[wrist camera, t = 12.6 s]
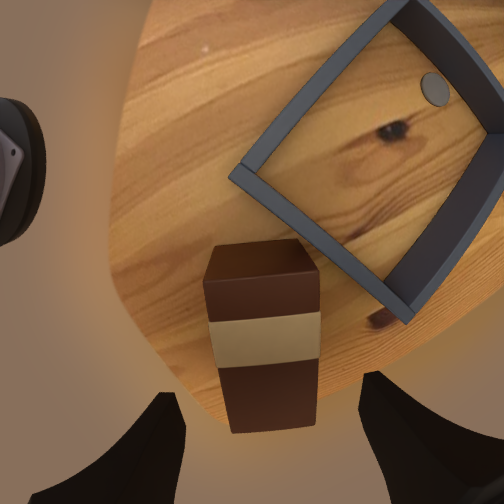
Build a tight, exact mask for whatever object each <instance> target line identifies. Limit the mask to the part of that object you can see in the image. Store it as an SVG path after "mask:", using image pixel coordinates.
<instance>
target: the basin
mask: <svg viewBox="0 0 504 504" xmlns="http://www.w3.org/2000/svg"><path fill="white" fill-rule="evenodd" d="M389 21H391V22H392V23H393V24H394V25H395V26H396V27H398V28H399V29H400V30H401V31H402V32H403V33H404V34H405V35H406V36H407V37H408V38H409V39H410V40H411V41H412V42H414V43H415V44H416V45H417V46H418V47H419V48H420V49H421V50H422V52H423V53H424V54H425V55H426V56H427V57H428V58H429V59H430V60H431V61H432V62H433V63H434V64H435V65H436V66H437V68H438V69H439V70H440V71H441V72H442V73H443V74H444V75H445V77H446V78H447V79H448V80H449V81H450V83H451V84H452V85H453V86H454V87H455V89H456V90H457V91H458V92H459V94H460V95H461V96H462V97H463V99H464V100H465V101H466V103H467V104H468V105H469V107H470V108H471V109H472V111H473V112H474V113H475V115H476V116H477V118H478V119H479V121H480V122H481V123H482V125H483V126H484V128H485V129H486V131H487V132H488V134H487V136H486V138H485V140H484V141H483V143H482V145H481V146H480V148H479V150H478V151H477V153H476V155H475V156H474V158H473V160H472V161H471V163H470V165H469V166H468V168H467V169H466V171H465V173H464V174H463V176H462V177H461V179H460V180H459V182H458V183H457V185H456V186H455V188H454V189H453V191H452V192H451V194H450V195H449V197H448V198H447V200H446V201H445V203H444V204H443V205H442V207H441V208H440V210H439V211H438V213H437V214H436V215H435V217H434V218H433V219H432V221H431V222H430V224H429V225H428V226H427V228H426V229H425V230H424V232H423V233H422V234H421V236H420V237H419V238H418V240H417V241H416V242H415V243H414V245H413V246H412V247H411V249H410V250H409V251H408V252H407V254H406V255H405V256H404V257H403V259H402V260H401V261H400V262H399V264H398V265H397V266H396V267H395V268H394V270H393V271H392V272H391V273H390V274H389V276H388V277H387V278H386V279H385V280H384V282H382V281H381V280H380V279H379V278H378V277H377V276H375V275H374V274H373V273H372V272H371V271H370V270H369V269H368V268H367V267H366V266H364V265H363V264H362V263H361V262H360V261H359V260H358V259H357V258H356V257H354V256H353V255H352V254H351V253H350V252H349V251H348V250H347V249H345V248H344V247H343V246H342V245H341V244H340V243H338V242H337V241H336V240H335V239H334V238H333V237H332V236H330V235H329V234H328V233H327V232H326V231H325V230H323V229H322V228H321V227H320V226H319V225H318V224H316V223H315V222H314V221H313V220H312V219H310V218H309V217H308V216H307V215H306V214H304V213H303V212H302V211H301V210H300V209H298V208H297V207H296V206H295V205H293V204H292V203H291V202H290V201H289V200H287V199H286V198H285V197H284V196H282V195H281V194H280V193H279V192H277V191H276V190H275V189H274V188H272V187H271V186H270V185H269V184H267V183H266V182H265V181H264V180H262V179H261V178H260V177H258V176H257V175H256V174H255V173H257V171H258V170H259V169H260V168H261V166H262V165H263V164H264V163H265V162H266V160H267V159H268V158H269V157H270V155H271V154H272V153H273V152H274V151H275V149H276V148H277V147H278V146H279V145H280V143H281V142H282V141H283V140H284V138H285V137H286V136H287V135H288V134H289V133H290V131H291V130H292V129H293V128H294V127H295V125H296V124H297V123H298V122H299V121H300V119H301V118H302V117H303V116H304V115H305V114H306V112H307V111H308V110H309V109H310V108H311V107H312V105H313V104H314V103H315V102H316V101H317V100H318V99H319V97H320V96H321V95H322V94H323V93H324V92H325V91H326V89H327V88H328V87H329V86H330V85H331V84H332V83H333V82H334V80H335V79H336V78H337V77H338V76H339V75H340V74H341V73H342V71H343V70H344V69H345V68H346V67H347V66H348V65H349V64H350V63H351V61H352V60H353V59H354V58H355V57H356V56H357V55H358V54H359V53H360V52H361V51H362V50H363V48H364V47H365V46H366V45H367V44H368V43H369V42H370V41H371V40H372V39H373V38H374V37H375V36H376V35H377V34H378V32H379V31H380V30H381V29H382V28H383V27H384V26H385V25H386V24H387V23H388V22H389ZM421 89H422V92H423V94H424V96H425V98H426V99H427V100H428V101H429V102H430V103H431V104H432V105H434V106H444V105H446V104H447V103H448V101H449V97H450V92H449V88H448V85H447V83H446V82H445V80H444V79H443V78H442V77H441V76H440V75H438V74H436V73H427V74H425V75H424V76H423V78H422V80H421ZM228 179H230V180H231V181H232V182H233V183H235V184H236V185H237V186H239V187H240V188H241V189H243V190H244V191H245V192H246V193H248V194H249V195H250V196H252V197H253V198H254V199H256V200H257V201H258V202H259V203H261V204H262V205H263V206H264V207H266V208H267V209H268V210H270V211H271V212H272V213H273V214H275V215H276V216H277V217H278V218H280V219H281V220H282V221H283V222H285V223H286V224H287V225H288V226H290V227H291V228H292V229H293V230H295V231H296V232H297V233H298V234H300V235H301V236H302V237H303V238H304V239H306V240H307V241H308V242H309V243H311V244H312V245H313V246H314V247H315V248H317V249H318V250H319V251H320V252H322V253H323V254H324V255H325V256H326V257H328V258H329V259H330V260H331V261H332V262H334V263H335V264H336V265H337V266H338V267H340V268H341V269H342V270H343V271H344V272H345V273H347V274H348V275H349V276H350V277H351V278H353V279H354V280H355V281H356V282H357V283H358V284H360V285H361V286H362V287H363V288H364V289H365V290H367V291H368V292H369V293H370V294H371V295H372V296H373V297H375V298H376V299H377V300H378V301H379V302H380V303H381V304H383V305H384V306H385V307H386V308H387V309H388V310H389V311H391V312H392V313H393V314H394V315H395V316H396V317H397V318H398V319H400V320H401V321H402V322H403V323H404V324H405V325H407V324H408V323H409V322H410V321H411V320H412V318H413V317H414V316H415V315H416V314H417V313H418V312H419V310H420V309H421V308H422V307H423V306H424V305H425V303H426V302H427V301H428V300H429V299H430V297H431V296H432V295H433V294H434V292H435V291H436V290H437V289H438V287H439V286H440V285H441V284H442V282H443V281H444V280H445V278H446V277H447V276H448V275H449V273H450V272H451V271H452V269H453V268H454V267H455V265H456V264H457V262H458V261H459V260H460V258H461V257H462V256H463V254H464V253H465V251H466V250H467V248H468V247H469V246H470V244H471V243H472V241H473V240H474V238H475V237H476V235H477V234H478V232H479V231H480V229H481V227H482V226H483V224H484V223H485V221H486V220H487V218H488V216H489V215H490V213H491V211H492V210H493V208H494V206H495V205H496V203H497V201H498V200H499V198H500V196H501V194H502V192H503V191H504V89H503V87H502V86H501V84H500V83H499V82H498V80H497V79H496V77H495V76H494V74H493V73H492V72H491V70H490V69H489V67H488V66H487V65H486V63H485V62H484V61H483V60H482V58H481V57H480V56H479V54H478V53H477V52H476V51H475V49H474V48H473V47H472V46H471V45H470V43H469V42H468V41H467V40H466V39H465V38H464V36H463V35H462V34H461V33H460V32H459V31H458V30H457V29H456V27H455V26H454V25H453V24H452V23H451V22H450V21H449V20H448V19H447V18H446V17H445V16H444V15H443V14H442V13H441V12H440V11H439V10H438V9H437V8H436V7H435V6H434V5H433V4H432V3H431V2H430V1H429V0H387V1H386V2H385V3H383V4H382V5H381V6H380V7H379V8H378V9H377V10H376V11H375V12H374V13H373V14H372V15H371V16H370V17H369V18H368V19H367V20H366V21H365V22H364V23H363V24H362V25H361V26H360V27H359V28H358V29H357V30H356V31H355V32H354V33H353V34H352V35H351V36H350V37H349V38H348V39H347V40H346V41H345V42H344V43H343V44H342V45H341V46H340V47H339V48H338V49H337V50H336V51H335V53H334V54H333V55H332V56H331V57H330V58H329V59H328V60H327V61H326V62H325V63H324V64H323V65H322V66H321V68H320V69H319V70H318V71H317V72H316V73H315V74H314V75H313V76H312V77H311V78H310V80H309V81H308V82H307V83H306V84H305V85H304V86H303V87H302V88H301V90H300V91H299V92H298V93H297V94H296V95H295V96H294V98H293V99H292V100H291V101H290V102H289V103H288V104H287V106H286V107H285V108H284V109H283V110H282V111H281V113H280V114H279V115H278V116H277V117H276V118H275V120H274V121H273V122H272V123H271V124H270V125H269V127H268V128H267V129H266V130H265V131H264V133H263V134H262V135H261V136H260V137H259V139H258V140H257V141H256V142H255V144H254V145H253V146H252V147H251V148H250V150H249V151H248V152H247V153H246V155H245V156H244V157H243V158H242V160H241V163H238V165H237V166H236V167H235V168H234V170H233V171H232V172H231V173H230V175H229V176H228ZM415 313H416V314H415Z"/></svg>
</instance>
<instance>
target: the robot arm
mask: <svg viewBox="0 0 504 504" xmlns="http://www.w3.org/2000/svg"><path fill="white" fill-rule="evenodd" d="M14 151H16V153H15V155H14ZM23 159H24V151H23V149H22V148H20V147H19V146H18V145H17V144H16V143H15V142H14V141H13V140H12V139H11V138H10V137H9V136H8V135H7V134H6V133H4V132H3V131H2V130H1V129H0V219H1V216H2V213H3V210H4V207H5V204H6V201H7V198H8V196H9V193H10V190H11V188H12V185H13V183H14V180H15V178H16V175H17V173H18V171H19V168H20V166H21V164H22V162H23ZM358 411H359V415H360V418H361V422H362V425H363V428H364V431H365V434H366V436H367V438H368V441H369V443H370V445H371V447H372V450H373V452H374V454H375V456H376V459H377V461H378V463H379V465H380V468H381V470H382V473H383V475H384V478H385V481H386V485H387V488H388V492H389V496H390V500H391V503H392V504H504V440H502V439H498V438H494V437H490V436H486V435H483V434H480V433H477V432H474V431H471V430H469V429H466V428H464V427H461V426H459V425H457V424H455V423H453V422H451V421H449V420H446V419H445V418H443V417H441V416H439V415H438V414H436V413H434V412H433V411H431V410H430V409H428V408H426V407H425V406H423V405H422V404H420V403H419V402H417V401H416V400H415V399H413V398H412V397H411V396H409V395H408V394H407V393H406V392H404V391H403V390H401V388H399V387H398V386H397V385H396V384H394V383H393V382H392V381H391V380H389V379H388V378H387V377H386V376H385V375H383V374H382V373H381V372H380V371H374V372H369V373H364V377H363V383H362V390H361V395H360V401H359V406H358ZM185 437H186V425H185V422H184V419H183V416H182V414H181V411H180V408H179V405H178V402H177V399H176V396H175V393H173V392H166V393H165V392H159V393H158V395H157V396H156V397H155V398H154V399H153V401H152V402H151V403H150V405H149V406H148V407H147V408H146V410H145V411H144V412H143V413H142V415H141V416H140V417H139V418H138V419H137V421H136V422H135V423H134V424H133V425H132V427H131V428H130V429H129V430H128V431H127V432H126V433H125V434H124V435H123V436H122V437H121V438H120V439H119V440H118V441H117V442H116V443H115V444H114V445H113V446H112V447H111V448H110V449H109V450H108V451H107V452H106V453H105V454H104V455H102V456H101V457H100V458H99V459H97V460H96V461H95V462H93V463H92V464H91V465H89V466H88V467H86V468H85V469H83V470H82V471H80V472H79V473H77V474H76V475H74V476H72V477H71V478H69V479H67V480H65V481H63V482H61V483H59V484H57V485H55V486H53V487H50V488H48V489H45V490H43V491H40V492H38V493H34V494H32V496H31V498H30V500H29V502H28V504H174V498H175V491H176V487H177V482H178V476H179V473H180V468H181V463H182V458H183V453H184V449H185Z"/></svg>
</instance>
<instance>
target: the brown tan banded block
mask: <svg viewBox="0 0 504 504" xmlns="http://www.w3.org/2000/svg"><path fill="white" fill-rule="evenodd" d="M203 288H204V294H205V300H206V306H207V312H208V318H209V321H208V327H209V332H210V338H211V343H212V348H213V353H214V359H215V364H216V367H217V368H218V372H219V377H220V382H221V387H222V392H223V397H224V401H225V406H226V411H227V415H228V420H229V424H230V429H231V432H232V433H233V434H234V433H251V432H264V431H275V430H284V429H292V428H300V427H307V426H313V425H315V422H316V406H317V389H318V365H319V358H320V344H321V312H320V280H319V269H318V268H317V266H316V265H315V264H314V262H313V261H312V259H311V258H310V256H309V255H308V253H307V252H306V250H305V249H304V247H303V246H302V244H301V243H300V241H299V240H298V239H286V240H275V241H265V242H254V243H243V244H233V245H222V246H215V247H214V249H213V252H212V255H211V258H210V261H209V264H208V267H207V270H206V273H205V276H204V279H203Z"/></svg>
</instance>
